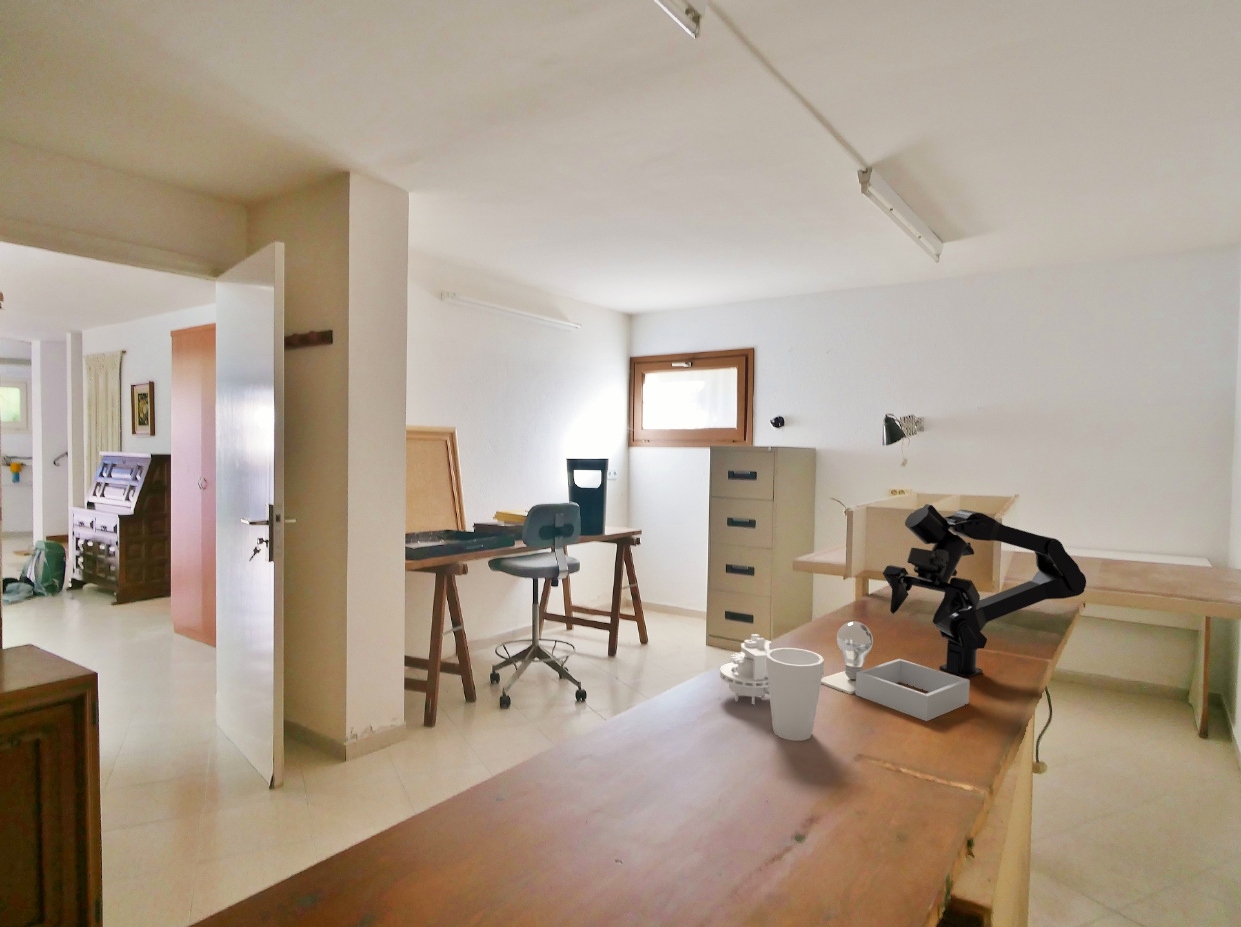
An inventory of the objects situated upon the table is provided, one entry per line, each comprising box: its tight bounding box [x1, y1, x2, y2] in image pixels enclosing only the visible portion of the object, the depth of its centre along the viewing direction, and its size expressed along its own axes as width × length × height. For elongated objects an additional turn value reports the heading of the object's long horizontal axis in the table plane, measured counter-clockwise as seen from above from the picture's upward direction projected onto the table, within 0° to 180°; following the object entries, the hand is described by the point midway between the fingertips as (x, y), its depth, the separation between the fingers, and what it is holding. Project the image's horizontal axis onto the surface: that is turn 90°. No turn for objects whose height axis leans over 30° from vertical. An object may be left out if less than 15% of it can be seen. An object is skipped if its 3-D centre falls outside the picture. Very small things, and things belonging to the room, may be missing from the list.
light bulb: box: [836, 620, 874, 681], centre depth 142 cm, size 7×7×12 cm
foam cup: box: [766, 647, 825, 742], centre depth 117 cm, size 10×9×13 cm
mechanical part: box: [719, 633, 772, 706], centre depth 132 cm, size 11×12×12 cm
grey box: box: [854, 658, 971, 722], centre depth 133 cm, size 15×15×4 cm
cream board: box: [820, 670, 856, 695], centre depth 142 cm, size 12×8×1 cm, turn 126°
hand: (912, 617), depth 141 cm, fingers open, 9 cm apart
